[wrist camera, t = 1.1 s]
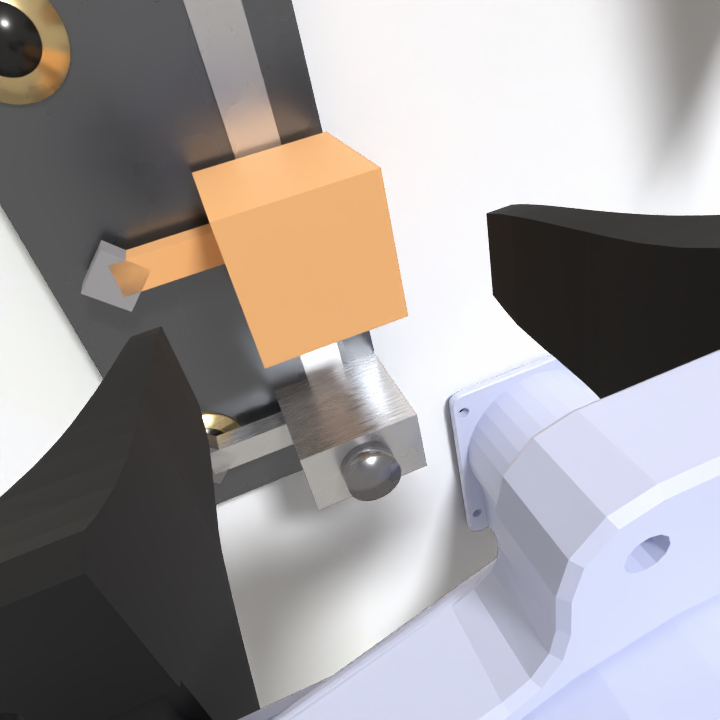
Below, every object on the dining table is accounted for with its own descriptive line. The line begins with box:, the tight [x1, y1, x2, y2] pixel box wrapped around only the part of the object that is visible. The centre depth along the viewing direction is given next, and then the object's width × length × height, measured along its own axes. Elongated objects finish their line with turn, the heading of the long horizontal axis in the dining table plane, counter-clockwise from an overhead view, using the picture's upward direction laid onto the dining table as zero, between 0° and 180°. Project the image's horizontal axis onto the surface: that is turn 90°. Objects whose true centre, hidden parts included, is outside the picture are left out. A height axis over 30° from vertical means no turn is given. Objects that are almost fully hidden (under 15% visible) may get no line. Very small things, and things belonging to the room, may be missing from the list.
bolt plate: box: [0, 0, 427, 510], centre depth 16 cm, size 21×9×6 cm, turn 13°
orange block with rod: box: [81, 132, 408, 368], centre depth 15 cm, size 4×8×4 cm, turn 103°
